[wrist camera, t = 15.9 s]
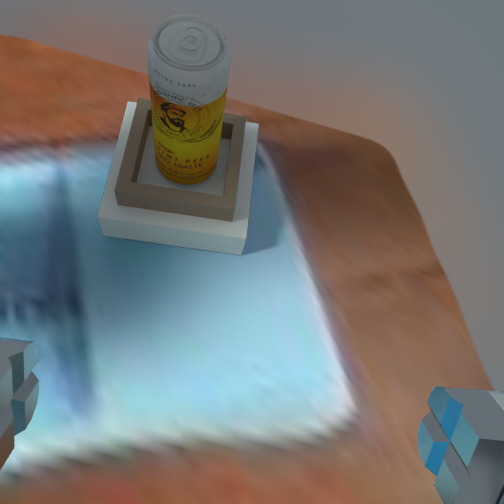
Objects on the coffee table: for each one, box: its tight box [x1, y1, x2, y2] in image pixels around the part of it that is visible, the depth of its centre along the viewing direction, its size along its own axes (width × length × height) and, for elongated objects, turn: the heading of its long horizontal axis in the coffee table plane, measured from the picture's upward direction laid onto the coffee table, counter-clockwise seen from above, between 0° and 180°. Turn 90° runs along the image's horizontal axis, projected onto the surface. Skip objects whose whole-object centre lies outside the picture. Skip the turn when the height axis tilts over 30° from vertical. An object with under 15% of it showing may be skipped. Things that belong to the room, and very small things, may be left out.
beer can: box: [147, 14, 231, 185], centre depth 39 cm, size 6×6×15 cm
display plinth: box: [97, 98, 259, 255], centre depth 46 cm, size 14×14×6 cm
